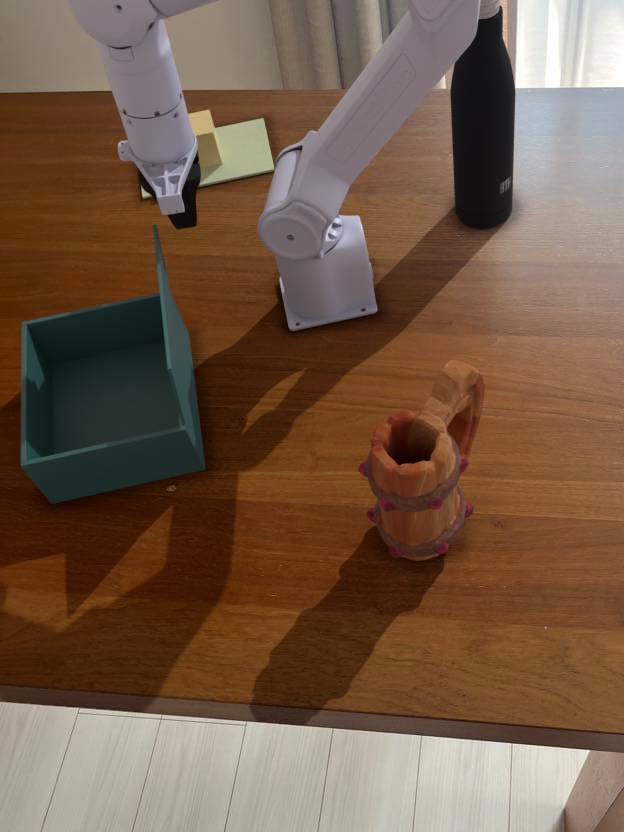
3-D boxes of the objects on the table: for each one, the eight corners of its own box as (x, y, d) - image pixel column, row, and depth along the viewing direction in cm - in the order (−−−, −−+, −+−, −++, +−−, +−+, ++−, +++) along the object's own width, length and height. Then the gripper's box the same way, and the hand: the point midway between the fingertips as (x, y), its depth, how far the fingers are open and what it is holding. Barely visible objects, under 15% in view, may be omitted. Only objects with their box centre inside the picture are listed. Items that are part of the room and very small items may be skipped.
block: (219, 141, 109) (209, 109, 105) (223, 164, 106) (213, 132, 103) (183, 149, 108) (172, 116, 105) (187, 172, 106) (175, 139, 103)
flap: (166, 285, 88) (169, 285, 88) (181, 425, 79) (185, 424, 79) (152, 224, 81) (156, 224, 81) (167, 369, 73) (171, 368, 73)
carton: (189, 334, 94) (170, 289, 88) (205, 470, 85) (185, 429, 79) (49, 365, 93) (21, 322, 88) (51, 504, 84) (20, 466, 79)
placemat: (263, 120, 110) (263, 117, 110) (274, 171, 106) (274, 168, 105) (137, 146, 110) (137, 144, 110) (143, 199, 105) (142, 197, 105)
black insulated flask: (458, 189, 101) (447, -104, 75) (514, 191, 100) (523, -105, 74) (451, 228, 98) (438, -63, 72) (509, 230, 97) (517, -64, 71)
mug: (433, 592, 77) (423, 501, 64) (356, 551, 79) (330, 456, 66) (515, 469, 82) (520, 361, 69) (439, 434, 85) (431, 325, 72)
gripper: (99, 53, 79) (141, 180, 91) (105, 159, 72) (150, 282, 84) (178, 42, 80) (209, 170, 92) (192, 146, 73) (224, 270, 85)
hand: (185, 223), depth 88 cm, fingers closed
